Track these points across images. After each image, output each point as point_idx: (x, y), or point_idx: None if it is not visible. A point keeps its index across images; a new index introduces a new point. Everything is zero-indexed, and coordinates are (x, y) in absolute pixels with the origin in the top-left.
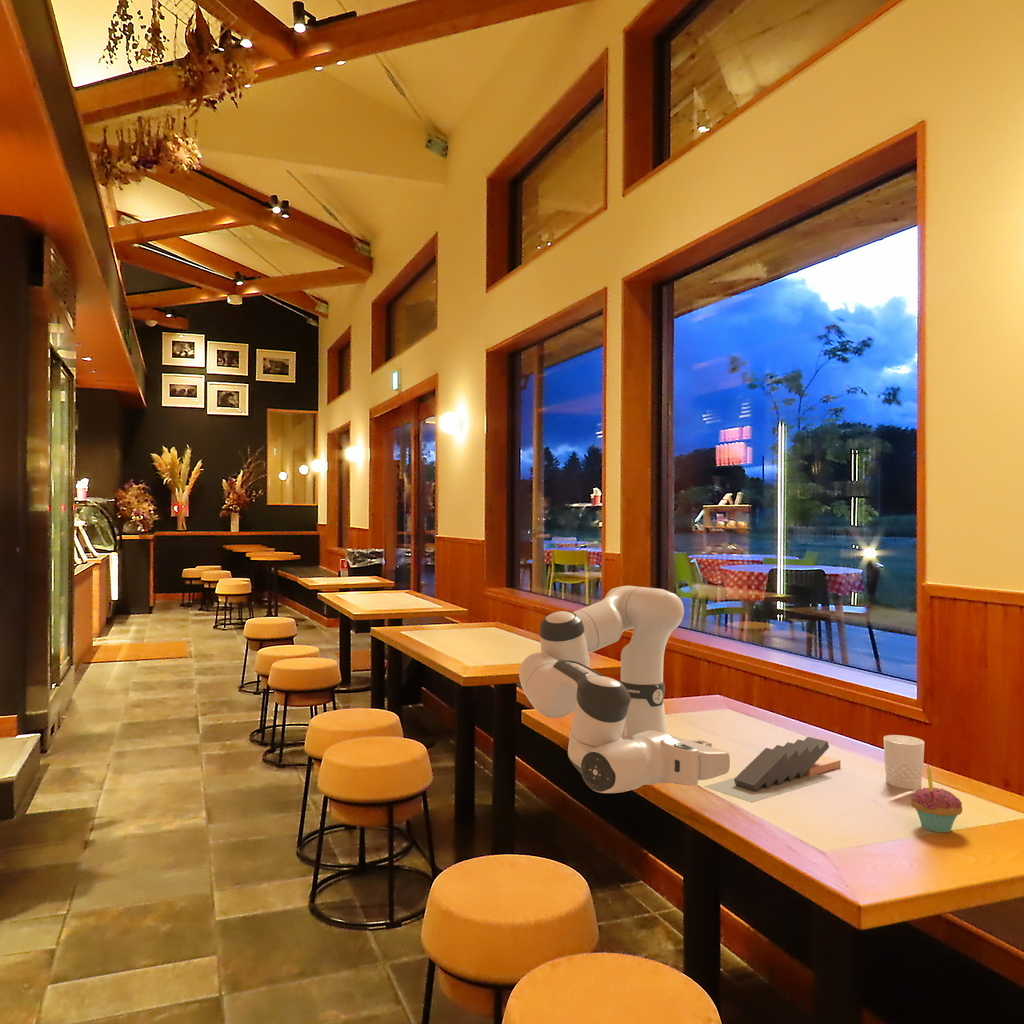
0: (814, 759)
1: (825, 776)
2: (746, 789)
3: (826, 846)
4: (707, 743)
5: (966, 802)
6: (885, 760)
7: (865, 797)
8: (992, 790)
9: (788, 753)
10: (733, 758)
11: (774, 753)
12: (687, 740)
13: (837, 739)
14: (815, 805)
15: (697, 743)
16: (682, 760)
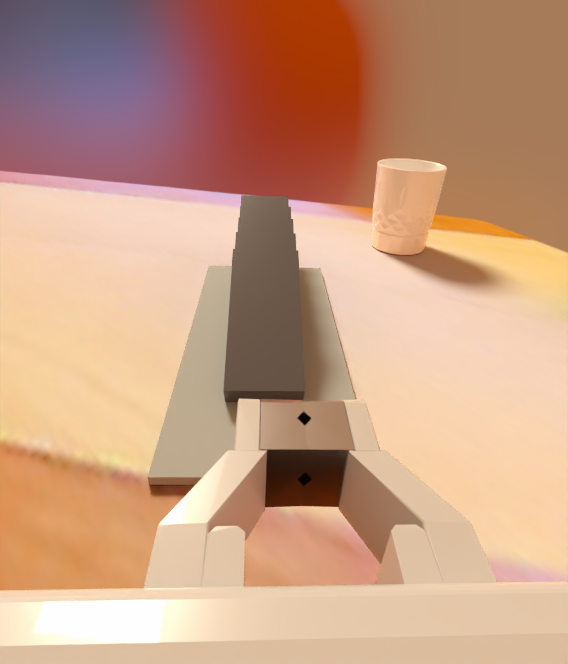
0: None
1: (307, 269)
2: None
3: None
4: (371, 428)
5: (489, 246)
6: (390, 210)
7: (423, 293)
8: (451, 218)
9: (283, 248)
10: (89, 285)
11: (269, 260)
12: (340, 638)
13: (188, 192)
14: (437, 368)
15: (563, 642)
16: None
